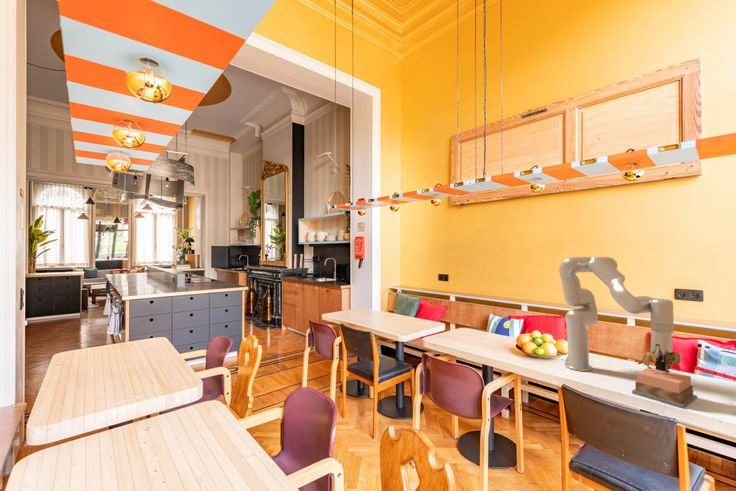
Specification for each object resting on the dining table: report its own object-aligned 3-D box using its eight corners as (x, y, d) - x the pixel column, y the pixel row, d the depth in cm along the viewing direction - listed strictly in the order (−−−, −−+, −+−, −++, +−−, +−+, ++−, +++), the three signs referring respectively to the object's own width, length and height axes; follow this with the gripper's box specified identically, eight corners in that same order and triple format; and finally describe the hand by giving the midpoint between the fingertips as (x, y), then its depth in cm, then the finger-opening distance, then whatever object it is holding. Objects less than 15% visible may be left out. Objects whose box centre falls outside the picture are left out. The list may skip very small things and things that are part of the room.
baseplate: (632, 393, 147) (632, 390, 147) (647, 384, 156) (647, 382, 156) (683, 408, 133) (683, 405, 133) (697, 398, 141) (697, 395, 141)
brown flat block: (635, 390, 147) (635, 381, 147) (649, 383, 155) (649, 374, 155) (680, 404, 134) (680, 394, 134) (693, 395, 142) (692, 385, 142)
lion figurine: (682, 373, 141) (682, 352, 142) (679, 376, 138) (678, 354, 138) (639, 363, 153) (639, 344, 154) (635, 366, 150) (635, 346, 150)
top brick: (637, 381, 147) (637, 372, 147) (650, 375, 154) (650, 366, 154) (679, 393, 135) (678, 383, 135) (691, 385, 142) (690, 376, 142)
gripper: (658, 323, 152) (659, 363, 152) (643, 328, 144) (644, 370, 143) (680, 326, 146) (681, 368, 146) (665, 331, 137) (666, 376, 137)
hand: (662, 368), depth 145 cm, fingers closed on lion figurine, 4 cm apart
